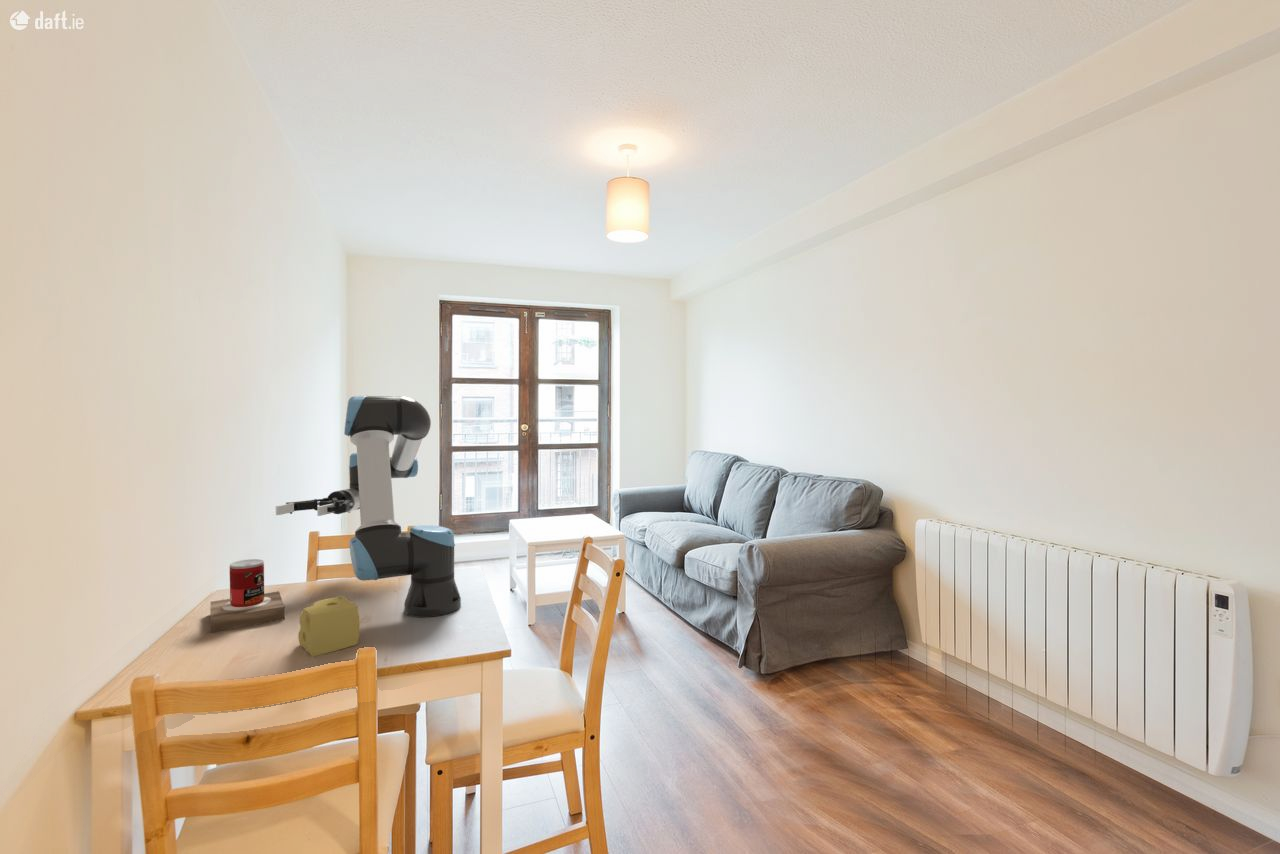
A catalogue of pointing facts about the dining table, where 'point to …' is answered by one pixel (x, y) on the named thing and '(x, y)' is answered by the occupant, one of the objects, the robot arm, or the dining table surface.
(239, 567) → the canned food
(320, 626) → the cheese
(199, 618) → the dining table surface
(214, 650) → the dining table surface
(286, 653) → the dining table surface
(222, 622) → the stand
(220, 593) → the dining table surface
